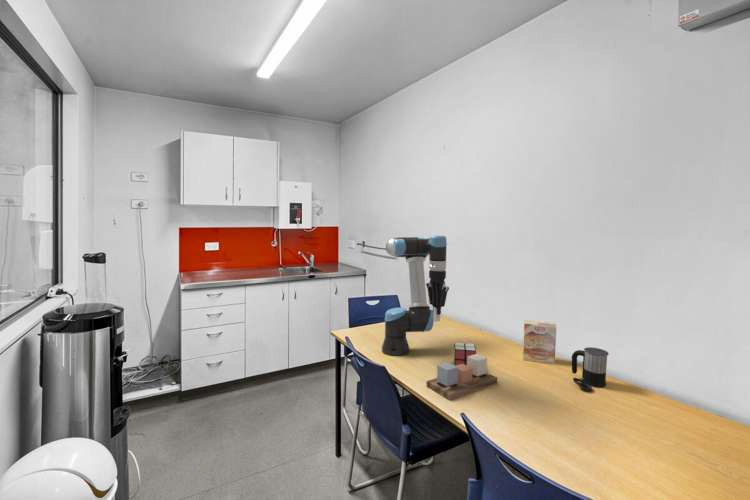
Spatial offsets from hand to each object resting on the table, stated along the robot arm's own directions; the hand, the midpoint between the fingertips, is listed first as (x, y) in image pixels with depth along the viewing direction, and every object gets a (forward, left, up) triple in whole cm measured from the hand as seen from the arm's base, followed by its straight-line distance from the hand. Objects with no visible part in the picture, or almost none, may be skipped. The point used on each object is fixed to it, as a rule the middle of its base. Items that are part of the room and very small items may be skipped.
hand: (436, 320), depth 166 cm
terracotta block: (+13, +4, -25) cm, 29 cm away
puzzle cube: (-1, +20, -27) cm, 33 cm away
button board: (+13, +4, -26) cm, 29 cm away
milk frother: (+43, +50, -27) cm, 72 cm away
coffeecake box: (+14, +58, -26) cm, 65 cm away
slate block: (+13, -5, -23) cm, 27 cm away
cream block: (+13, +13, -23) cm, 29 cm away
